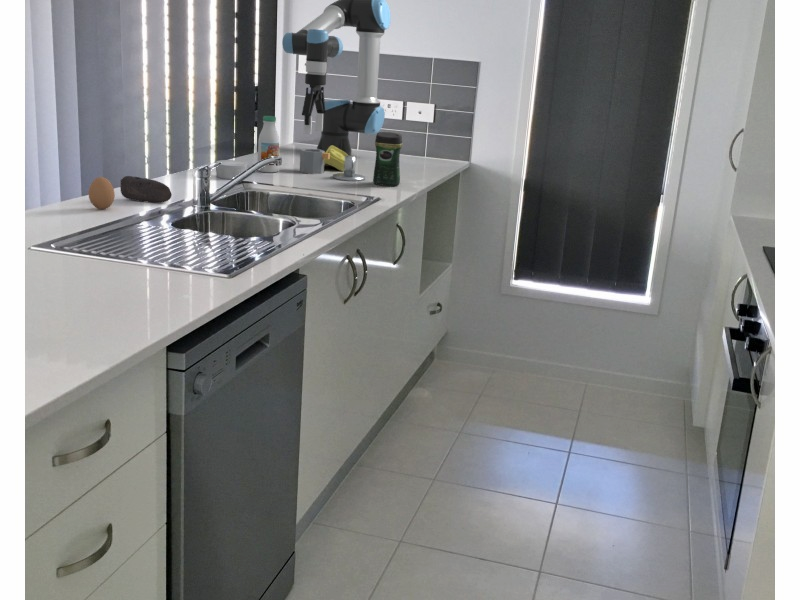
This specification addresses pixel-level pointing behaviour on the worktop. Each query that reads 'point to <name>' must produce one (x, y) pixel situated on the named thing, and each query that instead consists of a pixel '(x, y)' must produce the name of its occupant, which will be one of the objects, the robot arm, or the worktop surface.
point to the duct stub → (349, 171)
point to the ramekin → (230, 168)
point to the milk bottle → (268, 143)
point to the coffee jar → (387, 159)
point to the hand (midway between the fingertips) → (313, 132)
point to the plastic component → (336, 157)
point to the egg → (101, 193)
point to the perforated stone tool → (144, 189)
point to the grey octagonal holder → (312, 160)
